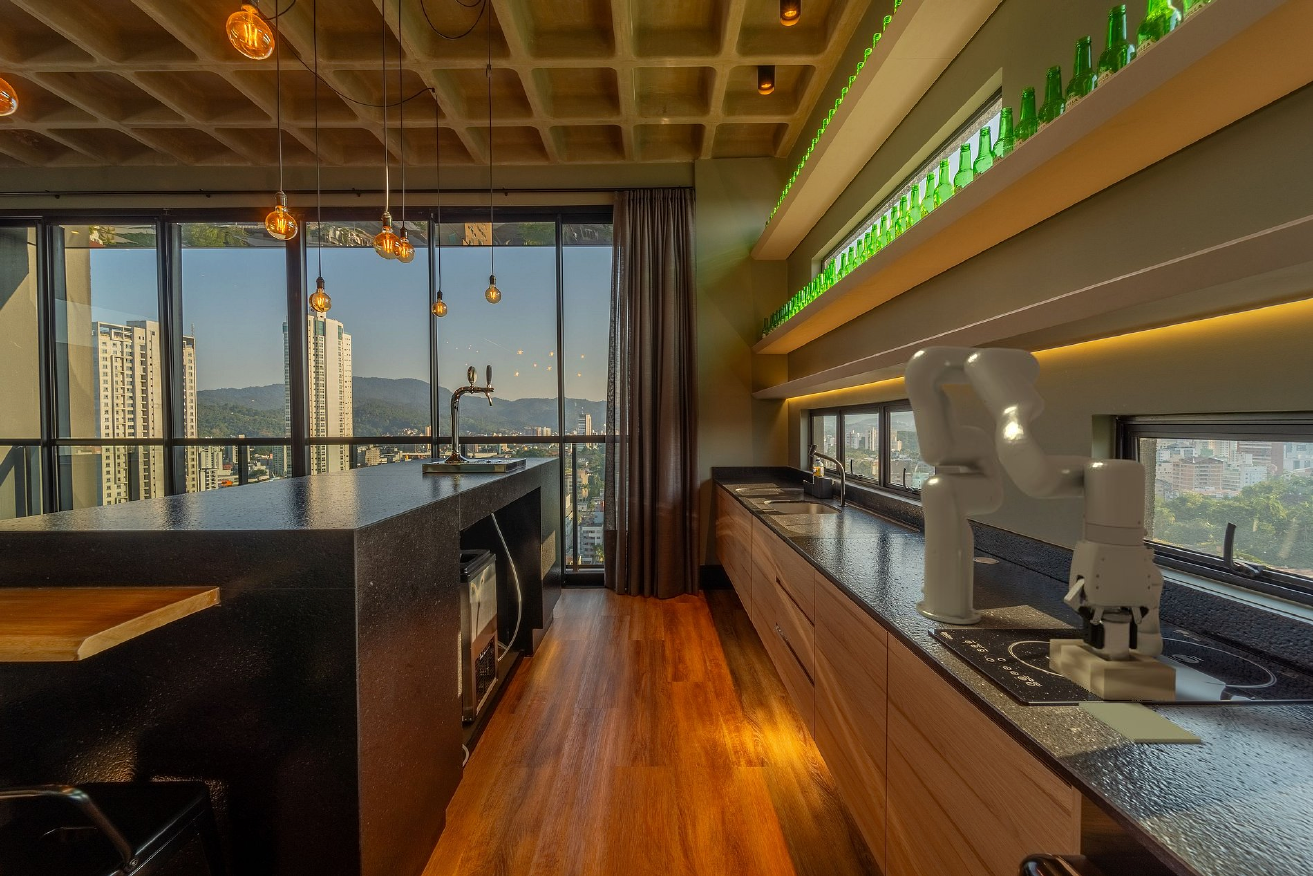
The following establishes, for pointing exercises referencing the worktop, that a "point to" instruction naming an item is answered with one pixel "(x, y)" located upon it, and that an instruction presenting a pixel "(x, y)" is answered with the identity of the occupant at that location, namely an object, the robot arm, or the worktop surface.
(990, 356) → the robot arm
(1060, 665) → the tan square frame
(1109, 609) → the grey cylindrical piece
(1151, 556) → the plastic bottle
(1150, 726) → the mat
